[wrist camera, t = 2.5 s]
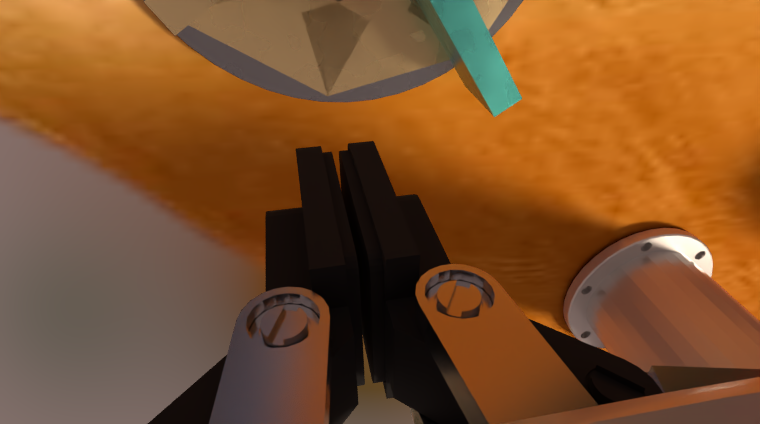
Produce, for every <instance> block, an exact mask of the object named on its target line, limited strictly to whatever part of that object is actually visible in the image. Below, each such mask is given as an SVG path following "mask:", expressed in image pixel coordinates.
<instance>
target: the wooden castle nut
mask: <svg viewBox="0 0 760 424" xmlns="http://www.w3.org/2000/svg"><path fill="white" fill-rule="evenodd" d="M507 2H508V0H145V1H144V3H145V4H146V5H147V6H148V7H149V8H150V9H151V10H152V11H153V13H154V14H155V15H156V16H157V17H158V18H159V19H160V20H161V21H162V22H163V23H164V24H165V26H166V27H167V28H168V29H169V30H170V31H171V32H172V33H173V34H174V35H177V34H178V33H179V32H180V31H182V30H183V29H184V28H185V27H187V26H188V25H189V26H191V27H193V28H195V29H197V30H199V31H201V32H203V33H205V34H207V35H209V36H210V37H212V38H214V39H216V40H218V41H220V42H222V43H224V44H226V45H228V46H230V47H232V48H234V49H236V50H238V51H240V52H242V53H244V54H246V55H248V56H250V57H252V58H254V59H256V60H258V61H259V62H261V63H263V64H265V65H267V66H269V67H271V68H273V69H275V70H277V71H279V72H281V73H283V74H285V75H287V76H289V77H291V78H293V79H295V80H297V81H299V82H301V83H303V84H305V85H307V86H308V87H310V88H312V89H314V90H316V91H318V92H320V93H322V94H324V95H326V96H330V95H333V94H337V93H340V92H344V91H347V90H350V89H354V88H357V87H360V86H364V85H367V84H370V83H374V82H377V81H381V80H384V79H387V78H391V77H394V76H397V75H401V74H404V73H407V72H411V71H414V70H417V69H421V68H424V67H428V66H431V65H434V64H438V63H441V62H444V61H448V60H451V62H452V64H453V66H454V67H455V69H456V71H457V73H458V74H459V76H460V78H461V80H462V81H463V83H464V85H465V87H466V88H467V89H468V90H469V91H470V92H471V93H472V94H473V95H474V96H475V97H476V98H477V99H478V100H479V101H480V102H481V103H482V104H483V105H484V107H485V108H486V109H487V110H488V111H489V112H490V113H491V114H492V115H493V116H494V117H495V116H497V115H498V114H500V113H501V112H503V111H504V110H506V109H507V108H509V107H510V106H512V105H513V104H515V103H516V102H518V101H519V100H521V99H522V97H521V95H520V93H519V91H518V89H517V87H516V85H515V83H514V81H513V79H512V77H511V75H510V73H509V71H508V69H507V67H506V65H505V63H504V61H503V59H502V57H501V55H500V53H499V51H498V49H497V47H496V45H495V43H494V41H493V39H492V37H491V35H490V33H489V31H488V30H489V29H490V27H491V26H492V24H493V23H494V21H495V20H496V18H497V17H498V15H499V14H500V12H501V11H502V9H503V8H504V6H505V5H506V3H507Z"/></svg>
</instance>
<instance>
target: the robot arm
mask: <svg viewBox="0 0 760 424" xmlns="http://www.w3.org/2000/svg"><path fill="white" fill-rule="evenodd" d="M296 156H297V164H298V173H299V182H300V191H301V200H302V207H301V208H293V209H284V210H275V211H267V212H266V292H264V293H262V294H260V295H258V296H257V297H255V298H254V299H252V300H251V301H250V302H248V304H247V305H246V306H245V307H244V308H243V309H242V310H241V312H240V314H239V316H238V318H237V320H236V324H235V327H234V331H233V335H232V339H231V342H230V346H229V350H228V354H227V355H226V356H225V357H224V358H223V359H222V360H220V361H219V362H218V363H217V364H216V365H215V366H213V368H212V369H210V370H209V371H208V372H207V373H205V374H204V375H203V376H202V377H201V378H200V379H199V380H197V381H196V382H195V383H194V384H193V385H192V386H191V387H190V388H188V389H187V390H186V391H185V392H184V393H183V394H181V395H180V396H179V397H178V398H177V399H176V400H174V401H173V402H172V403H171V404H170V405H169V406H168V407H166V408H165V409H164V410H163V411H162V412H161V413H160V414H158V415H157V416H156V417H155V418H154V419H153V420H152V421H150V422H149V423H148V424H343V422H344V421H345V420H346V419H347V418H348V416H349V415H350V414H351V412H352V411H353V410H354V409H355V407H356V406H357V405H358V391H357V386H360V385H364V384H365V379H364V359H363V340H364V344H365V349H366V354H367V358H368V363H369V368H370V372H371V377H372V381H373V383H377V382H383V384H384V389H385V393H386V397H387V398H395V399H397V400H398V401H400V402H402V403H404V404H405V405H407V406H409V407H410V408H411V415H412V418H413V422H414V424H760V321H759V320H758V319H756V318H755V317H754V316H753V315H752V314H751V313H750V312H749V311H748V310H746V309H745V308H744V307H743V306H742V305H741V304H740V303H739V302H738V301H736V300H735V299H734V298H733V297H732V296H731V295H730V294H729V293H727V292H726V291H725V290H724V289H723V288H722V287H721V286H720V285H719V284H717V283H716V282H715V281H714V280H713V279H712V278H711V275H712V269H713V261H712V255H711V253H710V251H709V249H708V247H707V246H706V245H705V244H704V243H703V242H701V241H700V240H699V239H698V238H697V237H696V236H694V235H692V234H691V233H689V232H687V231H684V230H680V229H675V228H659V229H650V230H647V231H643V232H639V233H636V234H633V235H631V236H628V237H626V238H624V239H621V240H619V241H618V242H616V243H614V244H612V245H611V246H609V247H607V248H606V249H604V250H603V251H602V252H600V253H599V254H598V255H596V256H595V257H594V258H593V259H592V260H591V261H590V262H589V263H588V264H586V265H585V266H584V267H583V269H582V270H581V271H580V272H579V274H578V275H577V276H576V277H575V279H574V281H573V282H572V284H571V286H570V288H569V289H568V292H567V295H566V297H565V300H564V308H563V313H564V319H565V322H566V324H567V326H568V328H569V329H570V330H571V332H572V333H573V334H574V336H575V337H576V338H577V339H575V338H573V337H570V336H568V335H566V334H563V333H561V332H559V331H556V330H554V329H552V328H549V327H547V326H544V325H542V324H540V323H537V322H535V321H533V320H530V319H528V318H527V317H526V316H525V314H524V313H523V312H522V311H521V309H520V308H519V307H518V306H517V304H516V303H515V302H514V301H513V300H512V298H511V297H510V296H509V295H508V293H507V292H506V291H505V290H504V288H503V287H502V286H501V285H500V284H499V282H498V281H497V280H495V279H494V278H493V277H492V276H491V275H490V274H488V273H486V272H485V271H483V270H481V269H479V268H476V267H472V266H469V265H462V264H451V263H450V261H449V259H448V257H447V255H446V253H445V251H444V249H443V247H442V245H441V243H440V241H439V238H438V236H437V234H436V232H435V230H434V228H433V226H432V224H431V222H430V220H429V218H428V216H427V213H426V211H425V209H424V207H423V205H422V203H421V201H420V199H419V197H418V196H417V195H415V194H413V195H405V196H396V195H395V192H394V190H393V187H392V185H391V182H390V180H389V177H388V175H387V173H386V170H385V168H384V165H383V163H382V160H381V158H380V156H379V153H378V151H377V148H376V146H375V143H374V142H373V141H370V142H359V143H349V144H348V150H345V151H339V162H340V177H341V188H340V184H339V180H338V176H337V172H336V168H335V163H334V159H333V155H332V152H325V153H322V149H321V146H319V147H308V148H298V149H296ZM341 191H342V192H341ZM362 335H363V339H362ZM597 347H599V348H606V349H607V350H608V352H609V353H608V352H606V351H604V350H601V349H599V348H597Z"/></svg>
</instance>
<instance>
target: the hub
mask: <svg viewBox="0 0 760 424" xmlns="http://www.w3.org/2000/svg"><path fill="white" fill-rule="evenodd" d="M144 1H145V0H144ZM522 1H523V0H508V2H507V3H506V5H505V6H504V8H503V9H502V11H501V12H500V14H499V15H498V17H497V18H496V20H495V21H494V23H493V24H492V26H491V27H490V29H489V30H488V31H489V33H490V35H491V37H493V35H494V34H495V33H496V32H497V31H498V30H499V29H500V28H501V27H502V26H503V25H504V24H505V23H506V22H507V21H508V20H509V18H510V17H511V16H512V15H513V13H514V12H515V11H516V9H517V8H518V7H519V5H520V4H521V3H522ZM177 36H179V37H180V38H181V39H182V40H183V41H184V42H185V43H186V44H187V45H189V46H190V47H191V48H193V49H194V50H195V51H197V52H198V53H200V54H201V55H202V56H204V57H205V58H207V59H208V60H209V61H211V62H212V63H213V64H215V65H217V66H219V67H220V68H222V69H224V70H226V71H227V72H229V73H231V74H233V75H235V76H236V77H238V78H240V79H242V80H244V81H247V82H249V83H252V84H254V85H257V86H259V87H261V88H264V89H266V90H269V91H273V92H276V93H280V94H283V95H287V96H291V97H294V98H301V99H307V100H314V101H320V102H354V101H364V100H373V99H377V98H382V97H386V96H390V95H395V94H399V93H401V92H404V91H407V90H410V89H412V88H415V87H418V86H420V85H423V84H425V83H427V82H429V81H431V80H433V79H435V78H437V77H439V76H441V75H443V74H444V73H446V72H448V71H449V70H451V69H452V68H454V66H453V64H452V62H451V60H448V61H444V62H441V63H438V64H434V65H431V66H428V67H424V68H421V69H417V70H414V71H411V72H407V73H404V74H401V75H397V76H394V77H391V78H387V79H384V80H381V81H377V82H374V83H370V84H367V85H364V86H360V87H357V88H354V89H350V90H347V91H344V92H340V93H337V94H333V95H330V96H326V95H324V94H322V93H320V92H318V91H316V90H314V89H312V88H310V87H308V86H307V85H305V84H303V83H301V82H299V81H297V80H295V79H293V78H291V77H289V76H287V75H285V74H283V73H281V72H279V71H277V70H275V69H273V68H271V67H269V66H267V65H265V64H263V63H261V62H259V61H258V60H256V59H254V58H252V57H250V56H248V55H246V54H244V53H242V52H240V51H238V50H236V49H234V48H232V47H230V46H228V45H226V44H224V43H222V42H220V41H218V40H216V39H214V38H212V37H210V36H209V35H207V34H205V33H203V32H201V31H199V30H197V29H195V28H193V27H191V26H189V25H188V26H187V27H185V28H184V29H183V30H182V31H180V32H179V33H178V34H177Z"/></svg>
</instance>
